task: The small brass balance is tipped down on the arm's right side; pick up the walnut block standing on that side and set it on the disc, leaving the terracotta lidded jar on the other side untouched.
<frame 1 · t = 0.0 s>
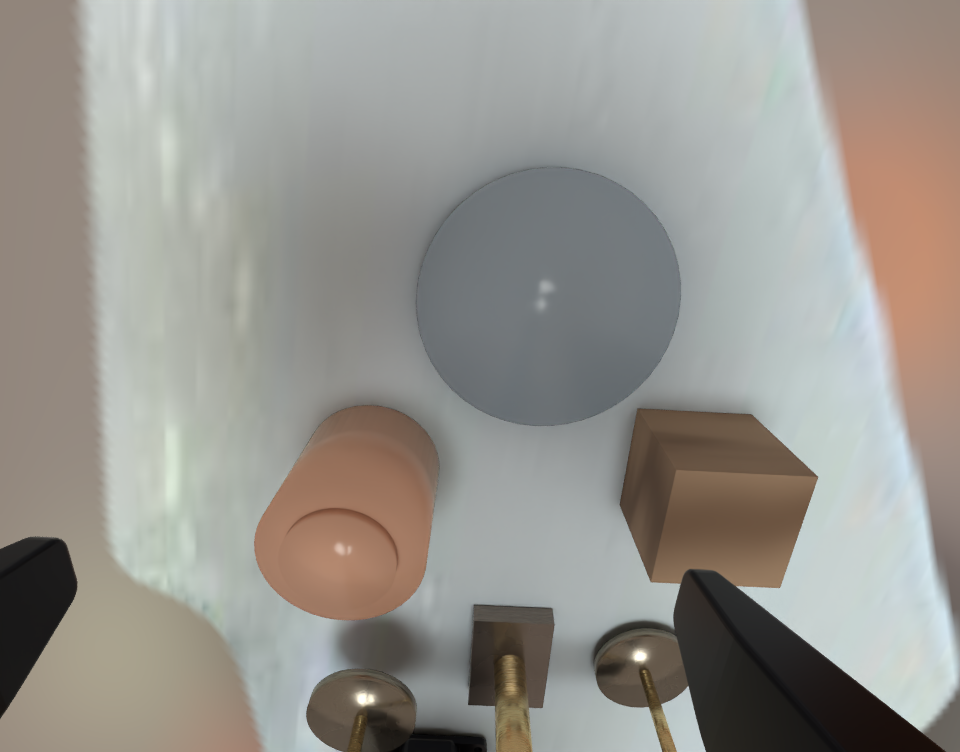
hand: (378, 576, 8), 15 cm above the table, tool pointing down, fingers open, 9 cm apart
walnut block: (682, 460, 24), on the table
disc: (544, 301, 21), on the table
balance: (508, 649, 28), on the table
terracotta lidded jar: (373, 464, 24), on the table
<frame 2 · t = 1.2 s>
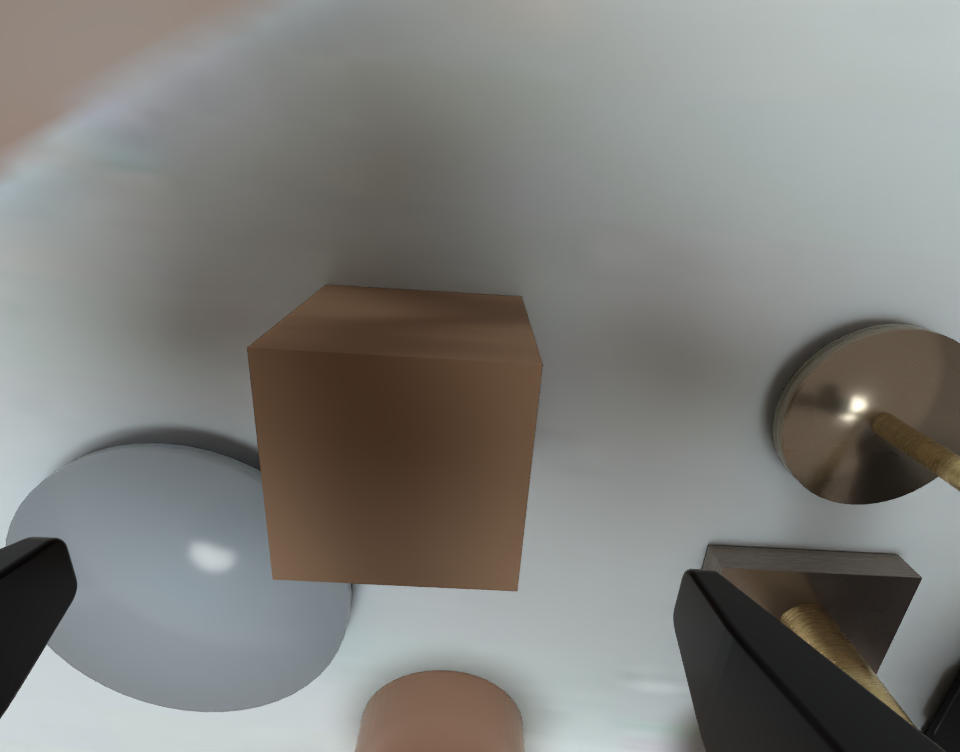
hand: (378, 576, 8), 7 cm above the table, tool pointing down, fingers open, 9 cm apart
walnut block: (422, 379, 15), on the table
disc: (198, 571, 17), on the table
balance: (785, 598, 17), on the table
terracotta lidded jar: (442, 727, 20), on the table
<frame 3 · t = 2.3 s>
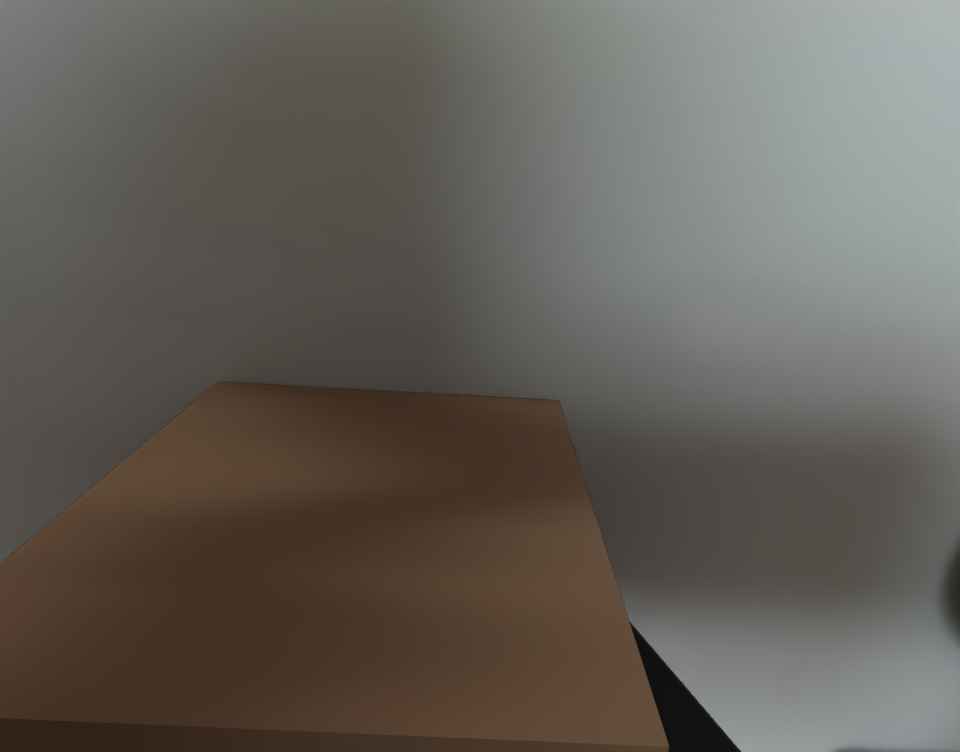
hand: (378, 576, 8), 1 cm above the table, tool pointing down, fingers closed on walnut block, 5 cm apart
walnut block: (390, 530, 9), on the table, touching gripper
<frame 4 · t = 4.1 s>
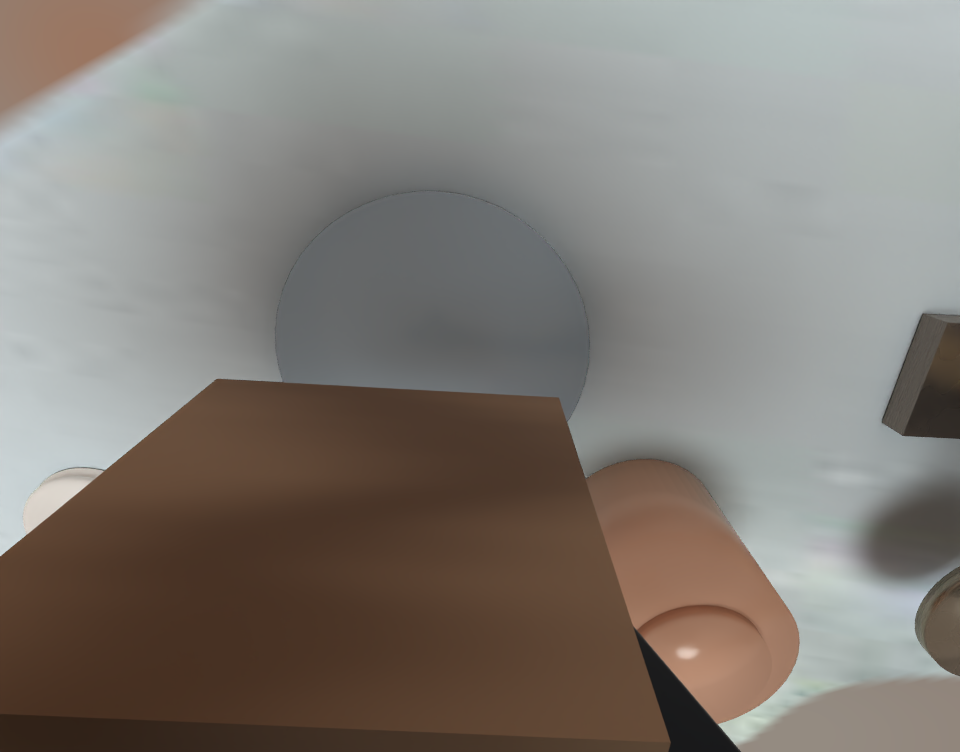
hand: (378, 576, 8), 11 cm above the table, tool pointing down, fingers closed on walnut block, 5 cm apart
walnut block: (389, 527, 9), point 10 cm above the table, touching gripper
disc: (435, 345, 18), on the table
chess piece: (103, 518, 21), on the table
terracotta lidded jar: (636, 525, 21), on the table
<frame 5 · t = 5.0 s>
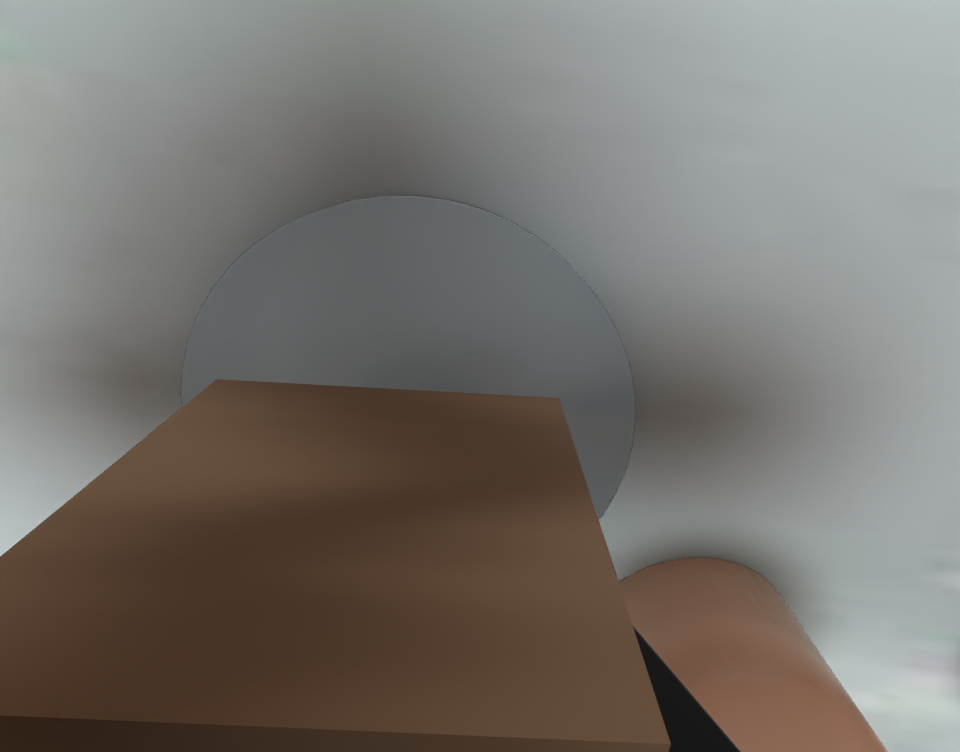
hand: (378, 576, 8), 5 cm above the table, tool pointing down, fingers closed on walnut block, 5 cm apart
walnut block: (389, 528, 9), point 4 cm above the table, touching gripper
disc: (415, 411, 13), on the table
terracotta lidded jar: (683, 637, 16), on the table
when the fingers open (3 cm above the table, at t = 5.8 s): walnut block drops 1 cm, resting on disc.
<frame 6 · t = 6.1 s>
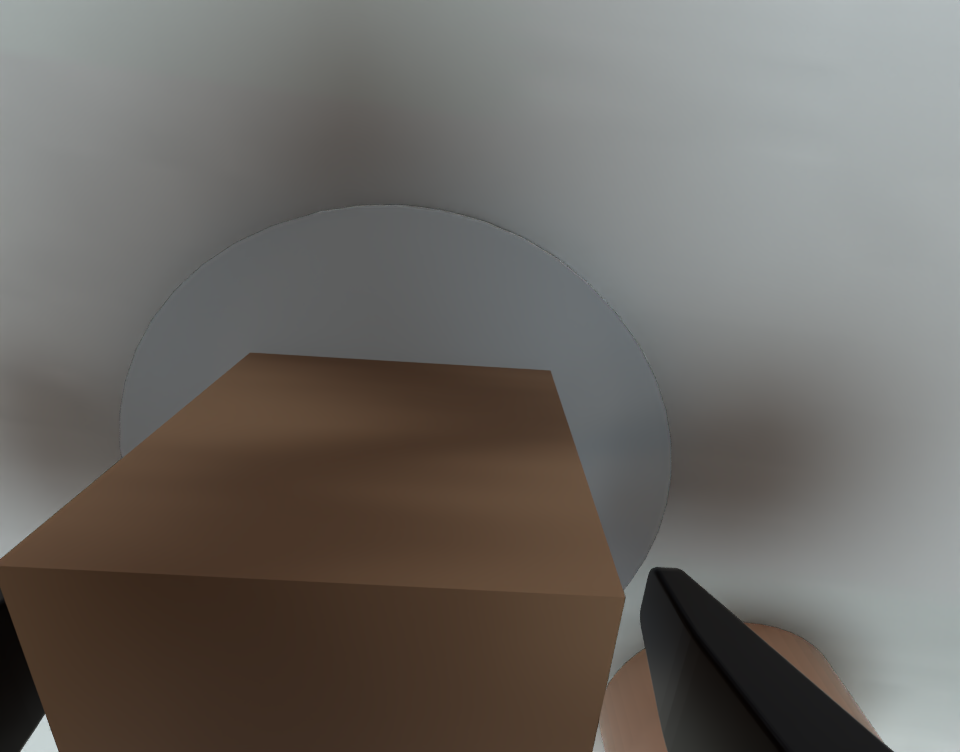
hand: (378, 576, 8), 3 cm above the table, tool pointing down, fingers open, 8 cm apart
walnut block: (400, 488, 10), point 1 cm above the table, touching disc
disc: (406, 459, 11), on the table
terracotta lidded jar: (715, 709, 14), on the table
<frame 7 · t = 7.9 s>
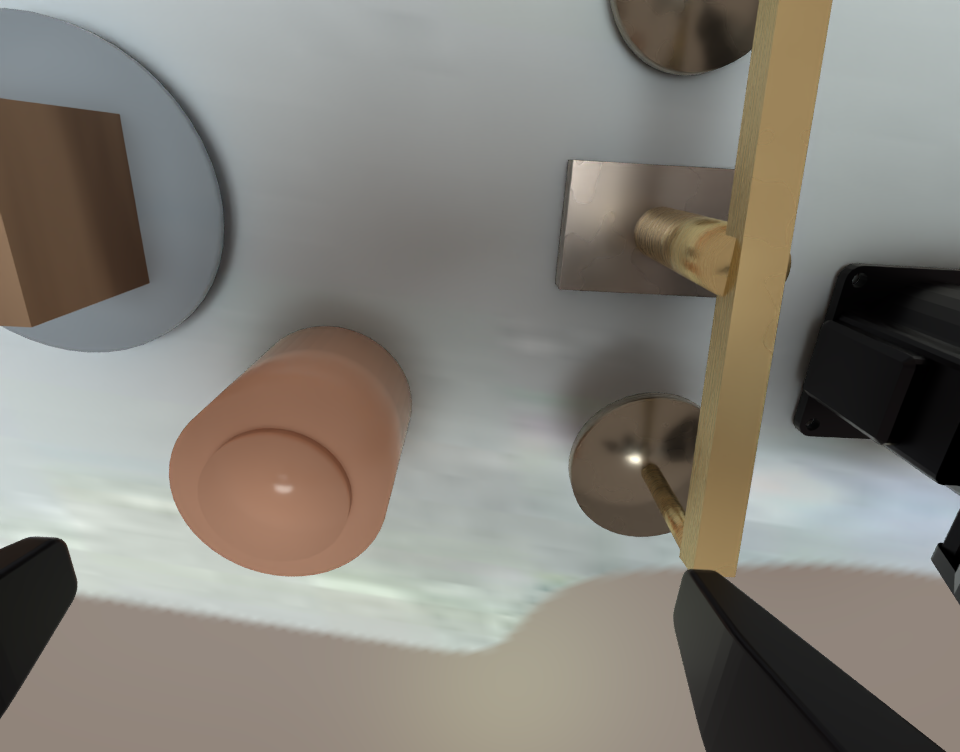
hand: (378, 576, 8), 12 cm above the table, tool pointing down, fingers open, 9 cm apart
walnut block: (53, 198, 16), point 1 cm above the table, touching disc
disc: (77, 197, 17), on the table
balance: (649, 228, 18), on the table
terracotta lidded jar: (333, 401, 20), on the table
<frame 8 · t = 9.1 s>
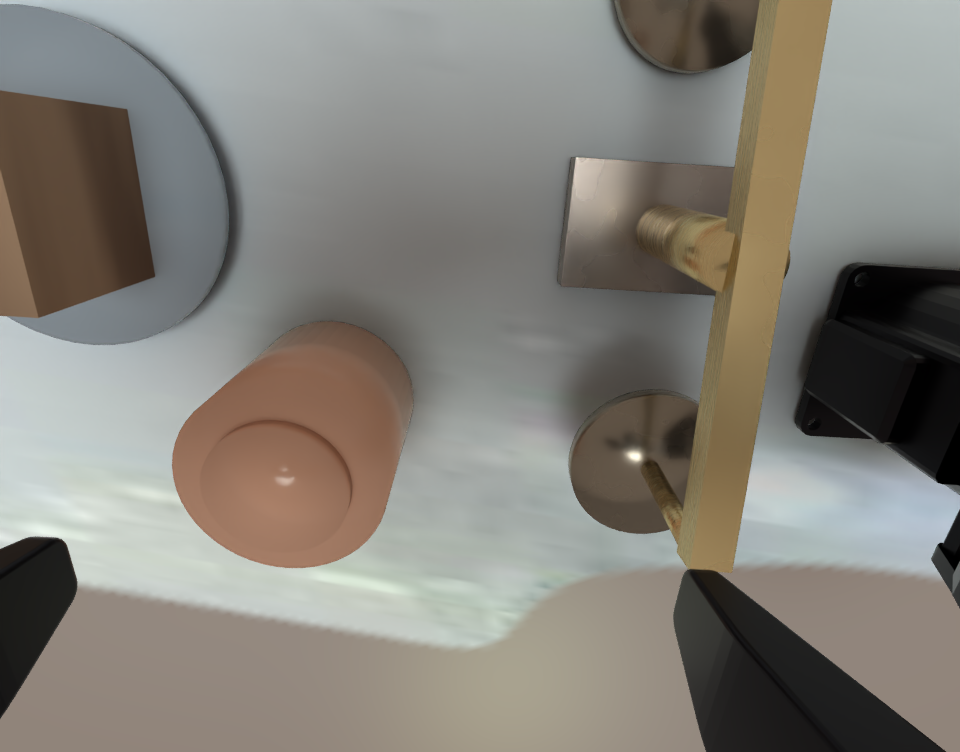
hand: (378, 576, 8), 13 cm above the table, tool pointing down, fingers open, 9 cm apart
walnut block: (61, 192, 17), point 1 cm above the table, touching disc
disc: (85, 191, 18), on the table
balance: (651, 226, 18), on the table
terracotta lidded jar: (335, 396, 20), on the table
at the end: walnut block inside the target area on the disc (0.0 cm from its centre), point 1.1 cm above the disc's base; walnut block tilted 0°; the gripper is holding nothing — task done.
